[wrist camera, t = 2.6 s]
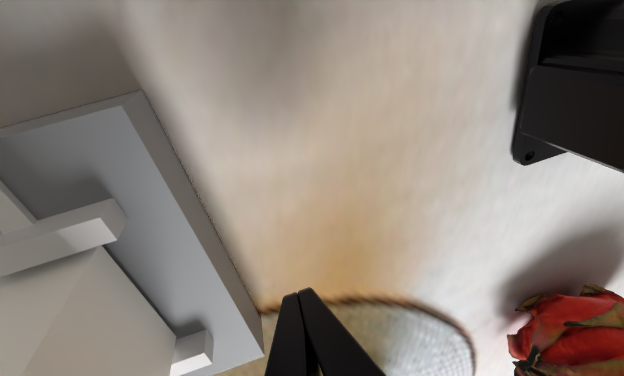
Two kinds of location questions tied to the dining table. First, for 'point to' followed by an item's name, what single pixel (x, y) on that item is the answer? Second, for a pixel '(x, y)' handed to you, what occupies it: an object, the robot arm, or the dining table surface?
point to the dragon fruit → (571, 335)
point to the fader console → (126, 223)
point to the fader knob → (80, 321)
